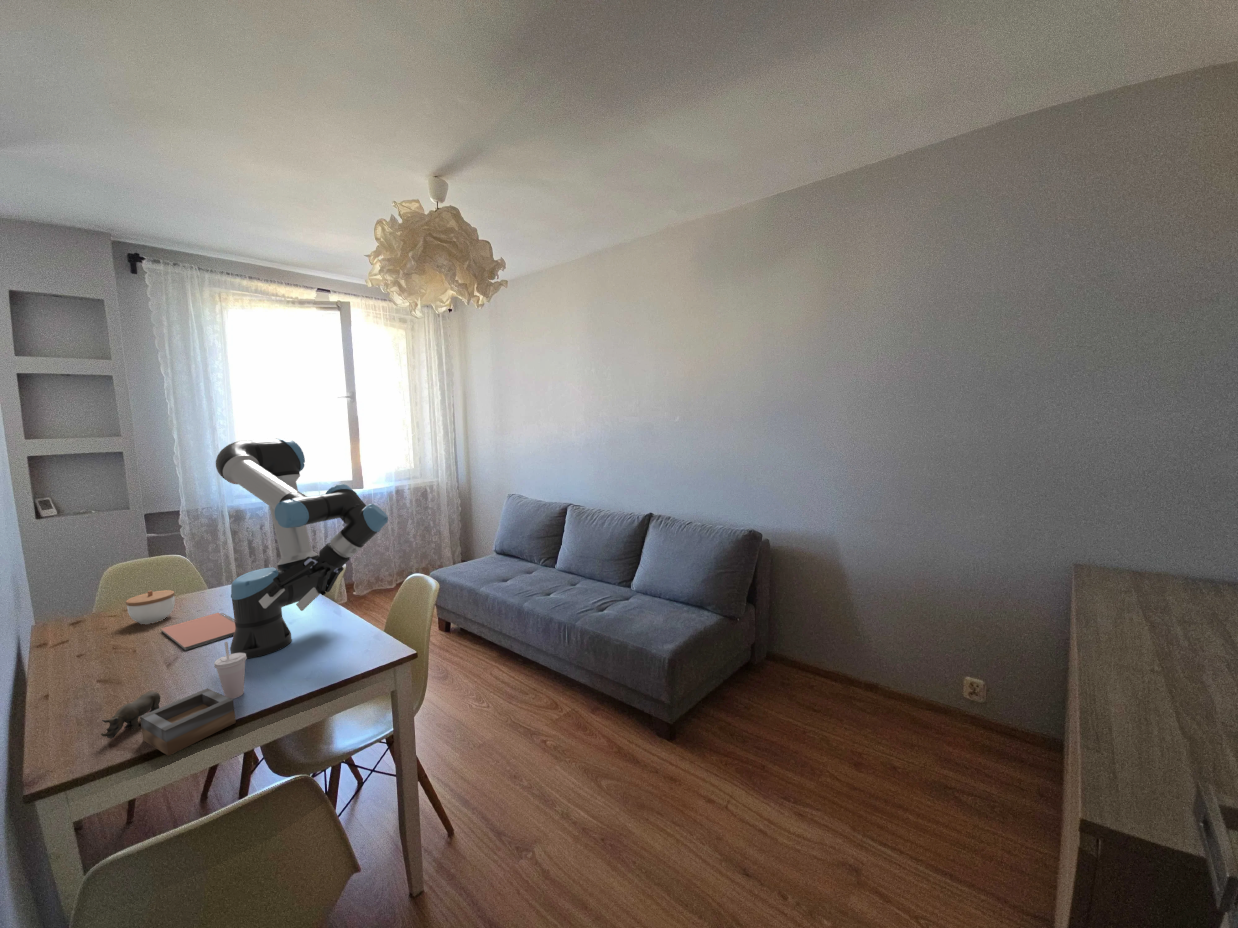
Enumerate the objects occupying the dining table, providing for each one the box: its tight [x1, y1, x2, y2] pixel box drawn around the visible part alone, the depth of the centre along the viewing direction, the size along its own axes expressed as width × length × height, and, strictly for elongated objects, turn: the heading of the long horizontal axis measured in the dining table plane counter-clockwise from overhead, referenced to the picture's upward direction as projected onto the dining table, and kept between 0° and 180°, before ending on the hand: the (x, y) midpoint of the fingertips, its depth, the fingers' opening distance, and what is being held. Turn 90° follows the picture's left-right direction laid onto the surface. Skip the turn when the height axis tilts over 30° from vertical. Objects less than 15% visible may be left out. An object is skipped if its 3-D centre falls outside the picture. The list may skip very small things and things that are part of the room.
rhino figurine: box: [100, 690, 161, 740], centre depth 109 cm, size 4×14×6 cm, turn 2°
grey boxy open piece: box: [139, 687, 237, 757], centre depth 107 cm, size 12×12×6 cm
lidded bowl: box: [125, 589, 176, 625], centre depth 174 cm, size 13×13×11 cm
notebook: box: [160, 612, 235, 651], centre depth 163 cm, size 27×17×2 cm, turn 55°
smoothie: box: [213, 641, 248, 700], centre depth 121 cm, size 6×6×14 cm
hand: (281, 606), depth 136 cm, fingers open, 13 cm apart
